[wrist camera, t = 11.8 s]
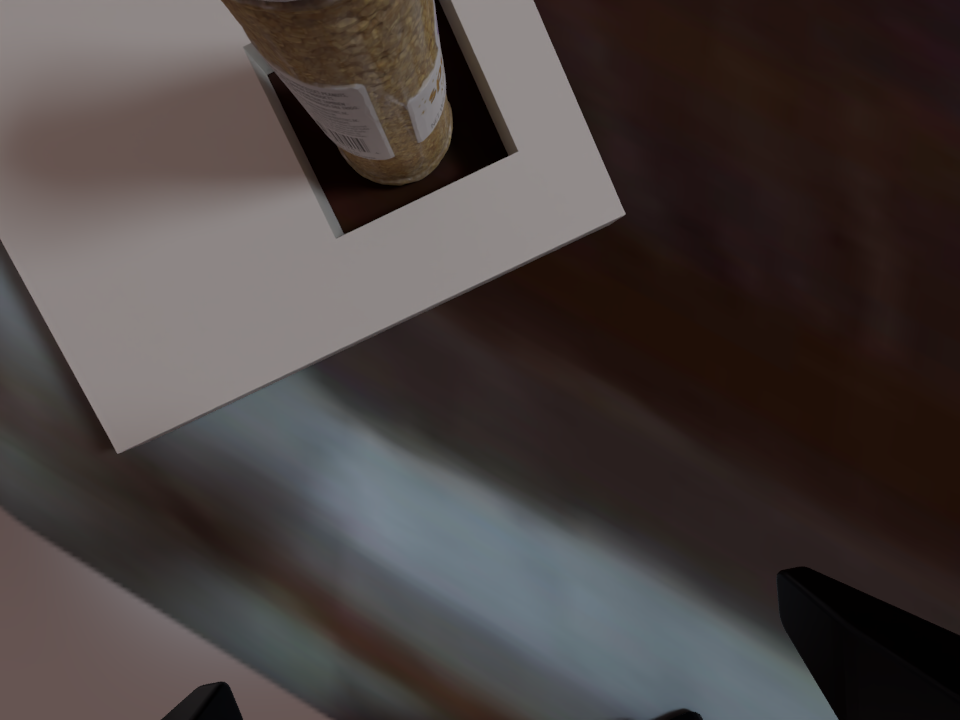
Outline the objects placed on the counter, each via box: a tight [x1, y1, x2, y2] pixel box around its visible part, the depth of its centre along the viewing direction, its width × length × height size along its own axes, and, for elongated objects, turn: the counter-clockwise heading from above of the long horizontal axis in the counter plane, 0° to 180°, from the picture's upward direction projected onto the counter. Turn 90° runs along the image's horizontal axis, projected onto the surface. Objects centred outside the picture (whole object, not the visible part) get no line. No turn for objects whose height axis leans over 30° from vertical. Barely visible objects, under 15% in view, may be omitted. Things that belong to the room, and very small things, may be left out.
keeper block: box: [0, 0, 625, 454], centre depth 18 cm, size 20×20×2 cm
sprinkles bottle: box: [221, 0, 453, 185], centre depth 13 cm, size 5×5×14 cm
